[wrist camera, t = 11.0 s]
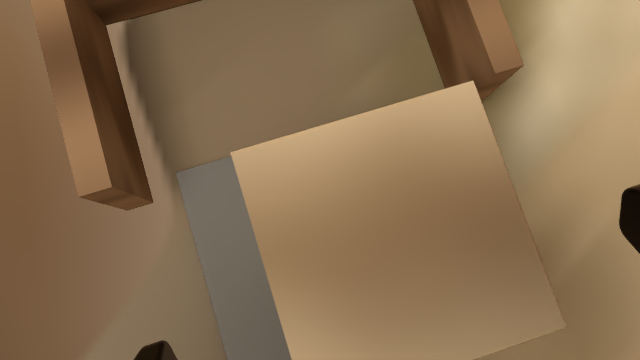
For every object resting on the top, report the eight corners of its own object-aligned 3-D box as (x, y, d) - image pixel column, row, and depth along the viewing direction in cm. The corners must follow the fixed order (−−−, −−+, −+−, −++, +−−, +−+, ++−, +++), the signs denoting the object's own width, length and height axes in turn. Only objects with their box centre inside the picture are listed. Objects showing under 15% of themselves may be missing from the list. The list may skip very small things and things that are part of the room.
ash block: (409, 286, 22) (566, 327, 9) (302, 321, 21) (308, 417, 9) (374, 181, 23) (472, 80, 10) (270, 213, 22) (230, 152, 9)
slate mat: (499, 325, 22) (502, 326, 22) (243, 413, 21) (243, 416, 21) (419, 101, 24) (421, 99, 23) (177, 173, 22) (175, 172, 22)
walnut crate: (477, 105, 24) (524, 64, 19) (127, 210, 22) (78, 196, 17) (408, -78, 25) (435, -161, 20) (75, 9, 24) (16, -57, 19)
